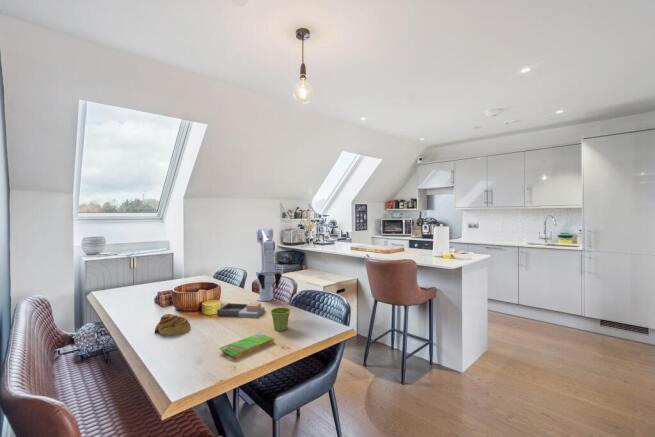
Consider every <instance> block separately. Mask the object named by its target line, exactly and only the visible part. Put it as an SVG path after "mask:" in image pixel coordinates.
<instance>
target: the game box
mask: <svg viewBox="0 0 655 437" xmlns="http://www.w3.org/2000/svg"><path fill="white" fill-rule="evenodd" d="M274 343H275V338H274V337H271V336H268V335H266V334H263V333H262V332H261V333H260V332H258V333H256V334H253V335H250V336H248V337H245V338H243V339H240V340H237V341H234V342H231V343H229V344H226V345H223V346H222V347H219V348H218V350H219V351H220V352H222V353H225V354H226V355H229V356H231V357H232V358H234V359H236V360H238V359H240V358H242V357H244V356H247V355H249V354H251V353H254V352H256V351H258V350H261V349H263V348H265V347H267V346H270V345H272V344H274Z"/></svg>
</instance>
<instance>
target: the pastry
mask: <svg viewBox="0 0 655 437" xmlns="http://www.w3.org/2000/svg"><path fill="white" fill-rule="evenodd" d="M190 331H191V324H190V322H189V320H188V319H187V318H185V317H183V316H180V315H176V314H172V313H165V314H163V315H162V316H161V317H160V320H159V322H158V323H157V324H156V325H155V328H154V333H155V334H156V333H158V334H159V335H160V336H165V337H171V336H177V335H178V336H179V335H184V334H187V333H188V332H190Z"/></svg>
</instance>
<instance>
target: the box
mask: <svg viewBox="0 0 655 437" xmlns="http://www.w3.org/2000/svg"><path fill="white" fill-rule="evenodd" d="M247 305H248V303H232V302H231V303H229V302H228V303H226V304H225V305H223V306H221V307H220V308H218V309H217V310H216V311H217V312H216V313H217V316H220V317H221V316H222V317H235V318H236V317H238V313H239V312H240V311H241V310H243V309H244V308H245V307H246V306H247Z"/></svg>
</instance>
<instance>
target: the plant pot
mask: <svg viewBox="0 0 655 437" xmlns="http://www.w3.org/2000/svg"><path fill="white" fill-rule="evenodd" d="M291 311H292V310H291V308H289V307H275V308H271V309H270V313H271V317H272V323H273V330H275V331H277V332H283V331H284V330H287V329H288V324H289V317H290V313H291Z"/></svg>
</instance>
